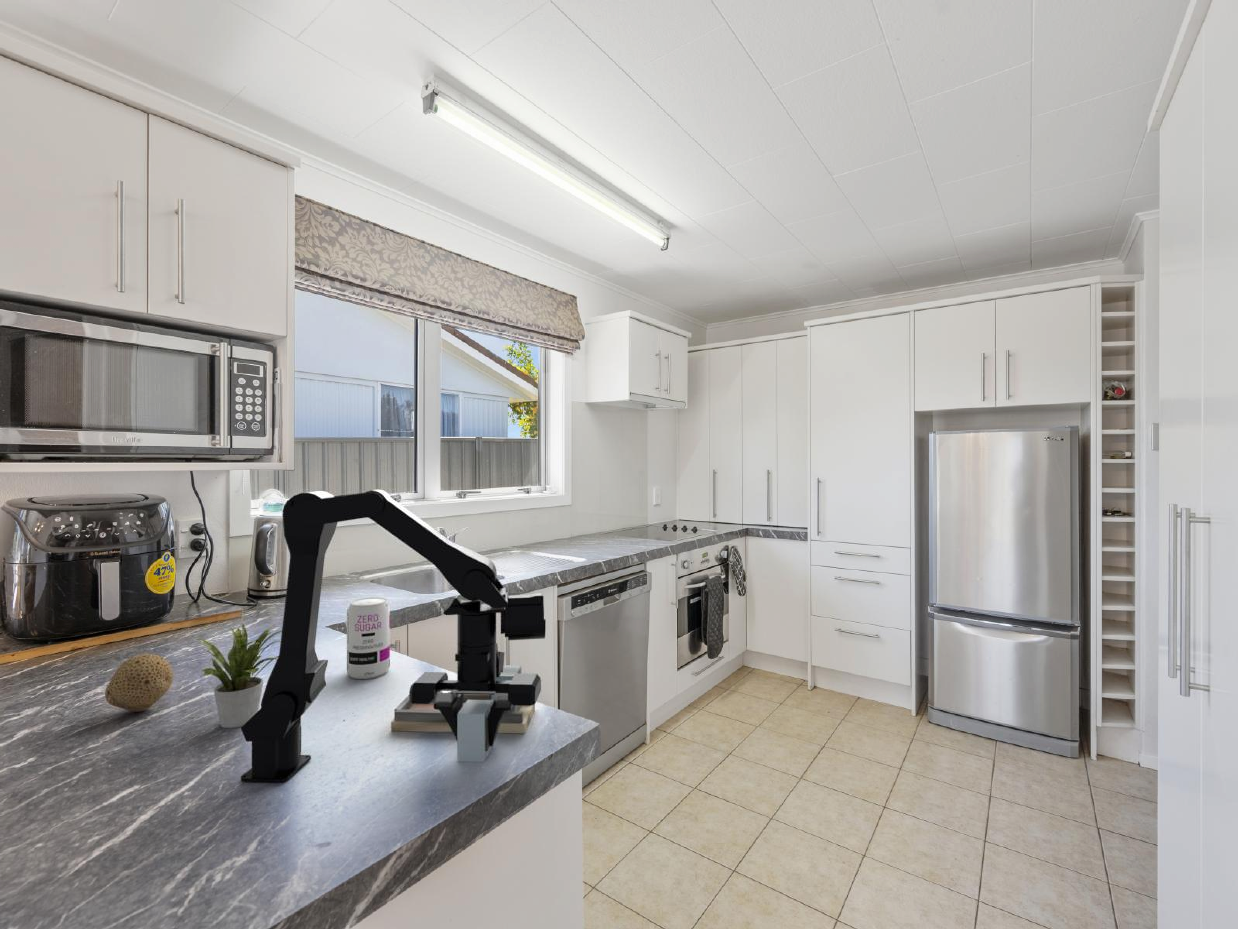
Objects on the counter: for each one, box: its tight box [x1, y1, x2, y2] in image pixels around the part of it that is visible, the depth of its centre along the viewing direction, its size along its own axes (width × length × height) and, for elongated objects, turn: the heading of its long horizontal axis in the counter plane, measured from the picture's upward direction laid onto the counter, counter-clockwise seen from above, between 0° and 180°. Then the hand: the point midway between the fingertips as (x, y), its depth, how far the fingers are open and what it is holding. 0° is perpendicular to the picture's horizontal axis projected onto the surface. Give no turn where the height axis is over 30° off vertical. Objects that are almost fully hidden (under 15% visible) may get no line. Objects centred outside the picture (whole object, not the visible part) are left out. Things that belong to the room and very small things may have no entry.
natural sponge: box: [104, 653, 174, 713], centre depth 101 cm, size 9×9×10 cm
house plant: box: [195, 622, 282, 729], centre depth 97 cm, size 14×14×16 cm
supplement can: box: [346, 597, 391, 680], centre depth 120 cm, size 8×8×15 cm
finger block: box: [456, 700, 493, 763], centre depth 87 cm, size 5×4×7 cm
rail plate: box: [390, 664, 536, 734], centre depth 98 cm, size 9×22×8 cm, turn 88°
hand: (476, 744), depth 87 cm, fingers closed on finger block, 4 cm apart
